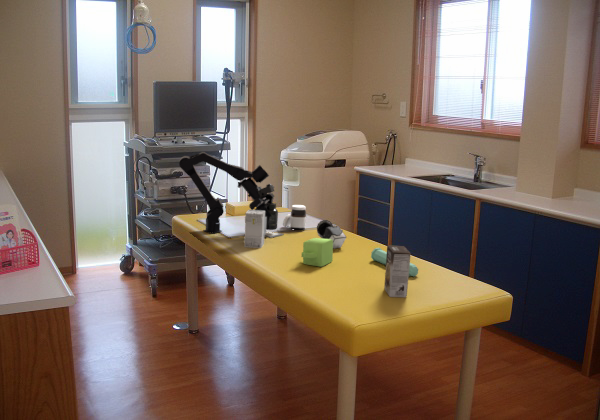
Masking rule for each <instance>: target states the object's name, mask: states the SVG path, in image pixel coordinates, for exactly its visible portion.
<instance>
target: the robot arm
mask: <svg viewBox="0 0 600 420" xmlns="http://www.w3.org/2000/svg"><path fill="white" fill-rule="evenodd" d="M203 162H204V163H206V164H208V165H210V166H212V167H214V168H217V169H219V170H221V171H223V172H225V173H226V174H228V175H229V176H230V177H232V178H233V179H235V180H236V181H237V188H239V189H240V188H243V189H244V191H245V192H246V193H247V197H248V198H251V199H252V202H249V205H248V206H249V210H262V211H265V215H266V216H268V217H271V214H270V212H269V211H268V209H267V207H266V203H274V197H275V194H273V192H275V186H274V184H272V183H268V184H266V186H265V187H263V188H262V186H258V184H261V183H263V181H264V180H266V179H267V178H268V177H270V175H269V173H268V171H266V170H265V169H264V168H263V166H261V165H260V164H259V165H258V166H256V168H255V169H253V170H252V171H251V170H247V169H245V168H243V167H242V166H239V165H236V164H230V163H228V162H225V161H223V160H221V159H219V158H216V157H215V156H212V155H210V154H208V153H206V152H205V151H202V152H200V153H196V154H193V155H190V156H188V155H184V156H182V157H181V158H180V159H179V163H178V164H179V165H178V167H179V168H181V170H182V171H183V172H184V173H185V174H187V176H188V177H190V179H191V180H192V182H193V183H194V184H195V187H196V188H197V189H198V191H199V192H200V194H201V195H202V197H203V198H204V200H205V202H206V205H207V206H208V211H207V212H206V213H205V214H206V218H205V229H203V230H202V231H203V232H205V233H209V234H217V233H221V232H223V230H221V223H220V222H221V221H220V217H221V216H223V214H224V212H225V211H224V203H223V202H222V201H220V198H219V197H217V198H215V196H214V195H213V194H212V193H211V191H210V190H209V188H208V187H207V185H206V183H205V182H204V181H203V179H202V177H201V176H200V174H199V173H198V171H197V169H196V167H195V165H198V164H200V163H203ZM252 178H253V179H252Z"/></svg>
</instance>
